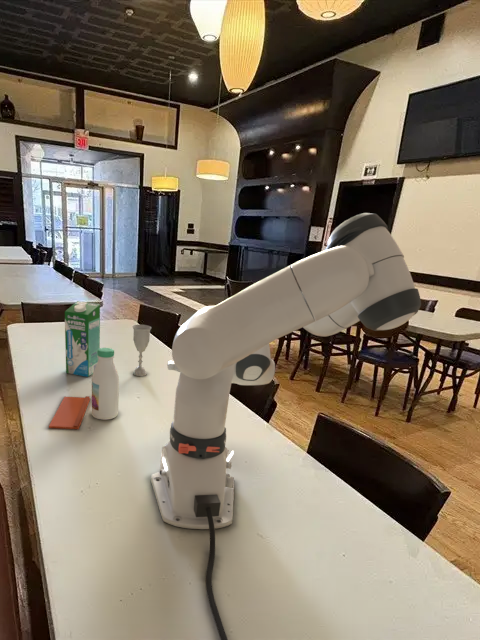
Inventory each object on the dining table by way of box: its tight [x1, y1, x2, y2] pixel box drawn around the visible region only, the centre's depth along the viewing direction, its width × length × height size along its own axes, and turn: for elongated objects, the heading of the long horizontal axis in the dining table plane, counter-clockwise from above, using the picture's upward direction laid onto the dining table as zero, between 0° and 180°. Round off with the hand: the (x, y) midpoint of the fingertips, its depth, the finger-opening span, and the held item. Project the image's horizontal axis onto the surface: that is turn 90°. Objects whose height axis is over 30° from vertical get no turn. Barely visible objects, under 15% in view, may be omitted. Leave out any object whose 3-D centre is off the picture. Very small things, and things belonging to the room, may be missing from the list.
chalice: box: [132, 324, 152, 377], centre depth 152 cm, size 7×7×18 cm
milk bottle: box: [91, 347, 120, 421], centre depth 118 cm, size 8×8×20 cm
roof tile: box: [48, 395, 91, 430], centre depth 121 cm, size 20×8×1 cm, turn 2°
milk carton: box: [64, 300, 101, 378], centre depth 149 cm, size 9×9×25 cm
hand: (167, 365), depth 116 cm, fingers closed
